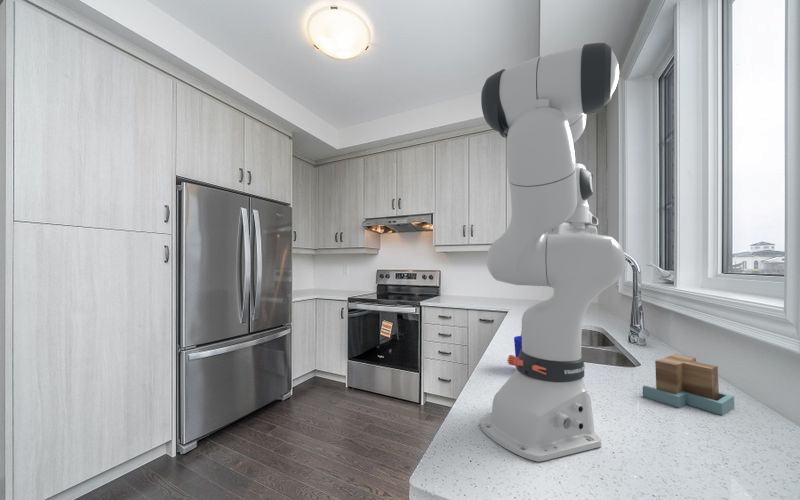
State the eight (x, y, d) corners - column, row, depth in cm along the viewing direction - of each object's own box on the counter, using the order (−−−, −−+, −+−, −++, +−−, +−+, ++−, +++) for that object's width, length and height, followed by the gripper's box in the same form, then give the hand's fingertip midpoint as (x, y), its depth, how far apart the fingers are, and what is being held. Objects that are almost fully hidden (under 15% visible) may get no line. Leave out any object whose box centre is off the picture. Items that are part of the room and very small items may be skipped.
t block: (706, 413, 67) (704, 371, 67) (656, 397, 75) (655, 360, 75) (725, 401, 73) (723, 363, 73) (677, 388, 81) (675, 353, 81)
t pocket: (715, 419, 64) (715, 407, 64) (642, 396, 75) (642, 386, 76) (740, 403, 72) (739, 392, 72) (670, 384, 83) (670, 374, 83)
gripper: (561, 214, 85) (562, 263, 84) (601, 220, 95) (602, 264, 94) (541, 217, 90) (541, 263, 89) (581, 222, 100) (581, 264, 99)
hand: (573, 264), depth 92 cm, fingers closed
